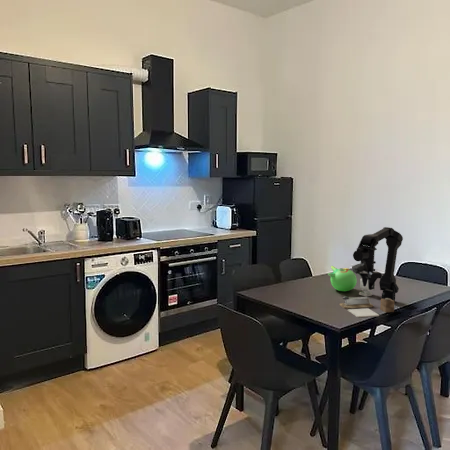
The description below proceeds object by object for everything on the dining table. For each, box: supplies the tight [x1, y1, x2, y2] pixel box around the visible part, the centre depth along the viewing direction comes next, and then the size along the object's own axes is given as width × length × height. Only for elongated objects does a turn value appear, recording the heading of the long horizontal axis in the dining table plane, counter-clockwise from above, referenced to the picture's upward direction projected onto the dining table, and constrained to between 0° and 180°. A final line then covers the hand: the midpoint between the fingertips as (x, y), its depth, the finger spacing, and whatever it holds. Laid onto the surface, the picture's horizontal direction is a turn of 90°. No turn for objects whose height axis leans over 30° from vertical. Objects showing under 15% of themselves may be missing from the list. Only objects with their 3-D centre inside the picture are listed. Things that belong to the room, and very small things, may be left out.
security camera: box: [358, 278, 376, 297], centre depth 261 cm, size 6×7×10 cm
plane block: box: [339, 302, 374, 309], centre depth 239 cm, size 17×6×1 cm, turn 101°
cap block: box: [380, 298, 396, 313], centre depth 232 cm, size 5×5×7 cm
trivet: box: [347, 307, 380, 318], centre depth 227 cm, size 12×11×1 cm
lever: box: [342, 295, 371, 305], centre depth 239 cm, size 16×3×4 cm, turn 101°
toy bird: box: [327, 265, 358, 292], centre depth 270 cm, size 18×17×15 cm
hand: (367, 287), depth 233 cm, fingers open, 5 cm apart
